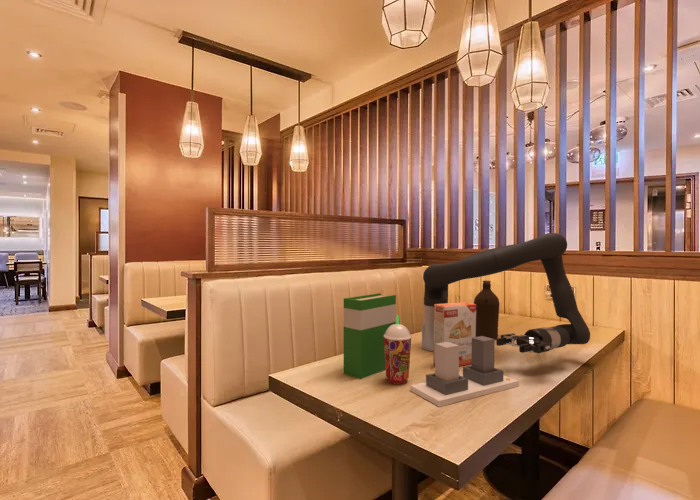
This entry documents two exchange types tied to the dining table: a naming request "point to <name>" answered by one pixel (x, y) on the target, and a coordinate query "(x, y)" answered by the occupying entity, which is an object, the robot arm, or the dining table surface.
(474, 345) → the charcoal plug
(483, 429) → the dining table surface
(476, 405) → the dining table surface
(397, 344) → the smoothie
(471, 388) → the white board with sockets
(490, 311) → the olive oil
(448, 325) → the cracker box
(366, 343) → the hardback book
